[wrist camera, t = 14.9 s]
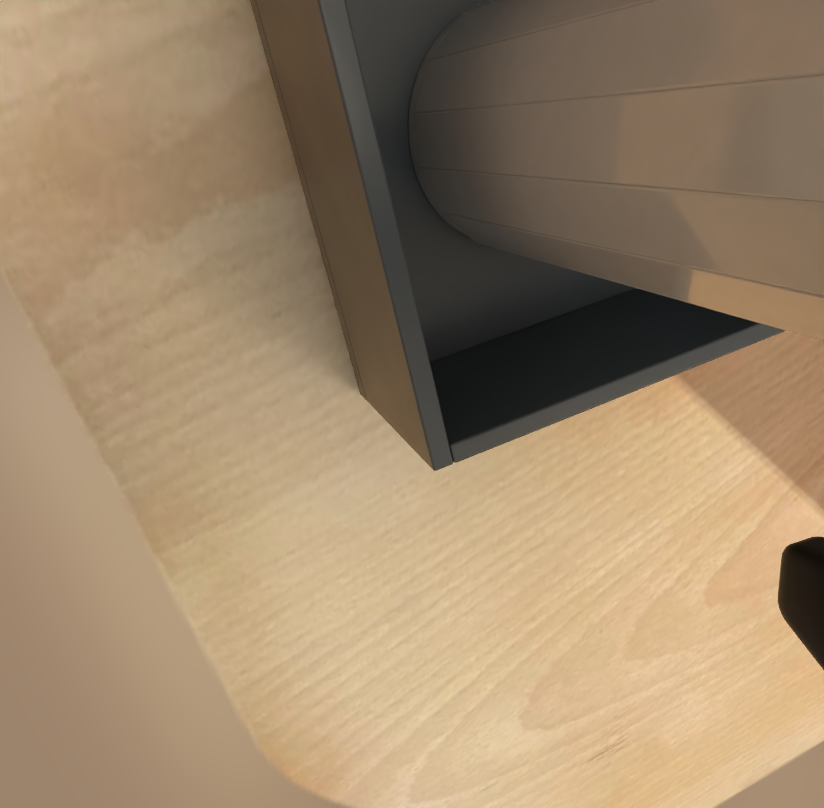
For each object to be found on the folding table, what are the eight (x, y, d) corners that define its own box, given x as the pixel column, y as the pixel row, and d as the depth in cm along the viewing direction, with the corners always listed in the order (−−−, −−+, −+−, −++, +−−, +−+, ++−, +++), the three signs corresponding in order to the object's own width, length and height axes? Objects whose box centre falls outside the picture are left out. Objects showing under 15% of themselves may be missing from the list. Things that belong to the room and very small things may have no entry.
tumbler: (526, 292, 21) (1000, 468, 10) (358, 147, 18) (760, 155, 7) (658, 110, 21) (1311, 72, 9) (510, -69, 18) (1204, -443, 6)
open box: (360, 395, 21) (434, 472, 16) (225, -87, 16) (272, -186, 11) (698, 272, 24) (848, 306, 19) (670, -167, 19) (861, -274, 14)
